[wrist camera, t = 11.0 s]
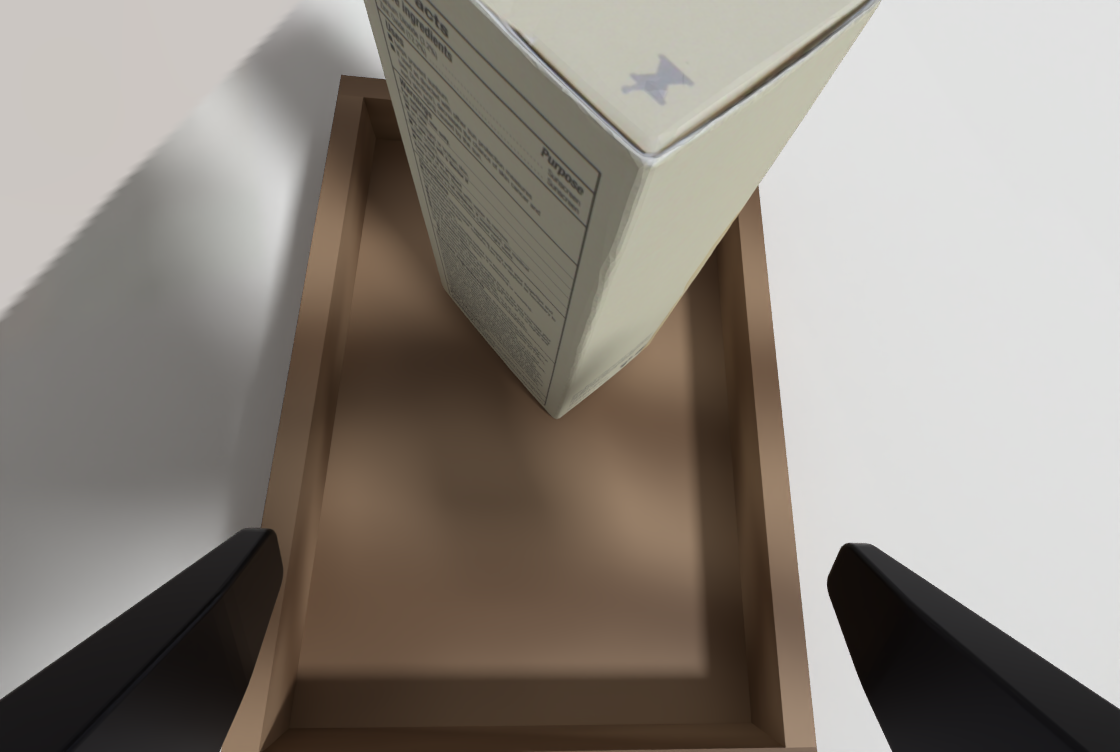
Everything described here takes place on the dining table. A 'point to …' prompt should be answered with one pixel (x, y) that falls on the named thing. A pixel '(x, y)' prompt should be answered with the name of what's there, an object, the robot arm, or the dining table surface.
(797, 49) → the skincare box
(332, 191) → the walnut tray
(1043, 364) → the dining table surface
